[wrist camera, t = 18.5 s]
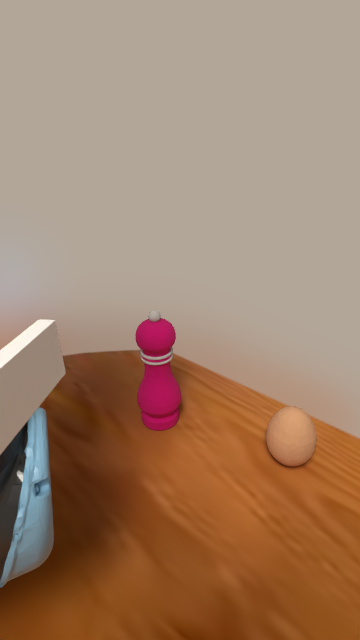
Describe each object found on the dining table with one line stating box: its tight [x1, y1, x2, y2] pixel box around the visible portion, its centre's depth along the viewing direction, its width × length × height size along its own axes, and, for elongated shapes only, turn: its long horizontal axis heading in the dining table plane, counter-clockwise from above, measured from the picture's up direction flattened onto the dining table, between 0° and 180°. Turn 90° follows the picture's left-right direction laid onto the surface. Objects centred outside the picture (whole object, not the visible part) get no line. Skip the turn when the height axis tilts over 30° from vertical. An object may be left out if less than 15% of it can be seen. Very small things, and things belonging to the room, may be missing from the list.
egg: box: [266, 406, 317, 466], centre depth 46 cm, size 7×7×9 cm
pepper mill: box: [136, 310, 181, 431], centre depth 52 cm, size 7×7×20 cm
